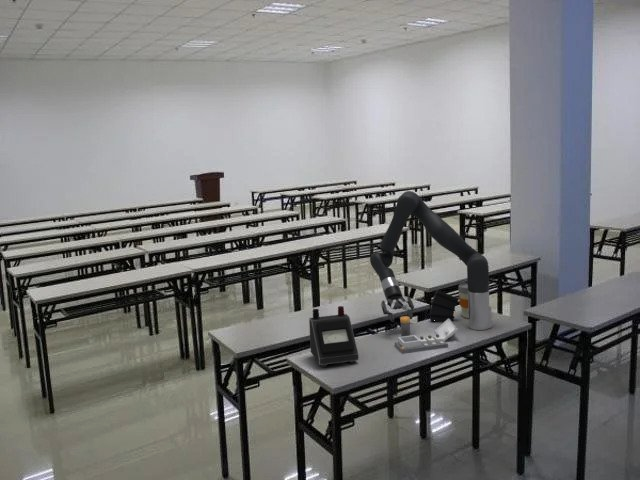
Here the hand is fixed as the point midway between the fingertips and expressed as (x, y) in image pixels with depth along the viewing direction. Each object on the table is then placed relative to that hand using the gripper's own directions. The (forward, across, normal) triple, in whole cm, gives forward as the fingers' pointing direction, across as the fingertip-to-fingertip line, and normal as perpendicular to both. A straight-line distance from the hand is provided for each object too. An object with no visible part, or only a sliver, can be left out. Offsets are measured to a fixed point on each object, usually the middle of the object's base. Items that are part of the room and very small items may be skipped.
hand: (402, 319), depth 261 cm
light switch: (+11, +18, +1) cm, 21 cm away
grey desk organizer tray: (+16, +2, -4) cm, 16 cm away
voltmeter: (+15, -36, -4) cm, 39 cm away
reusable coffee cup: (-4, +42, +15) cm, 44 cm away
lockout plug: (+8, 0, +4) cm, 9 cm away
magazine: (-3, +26, +15) cm, 31 cm away
